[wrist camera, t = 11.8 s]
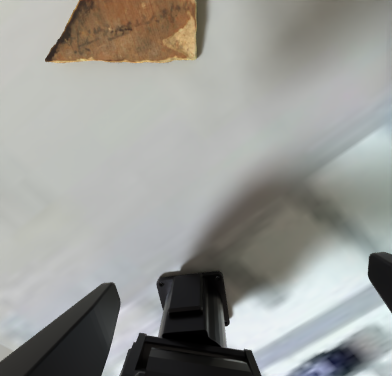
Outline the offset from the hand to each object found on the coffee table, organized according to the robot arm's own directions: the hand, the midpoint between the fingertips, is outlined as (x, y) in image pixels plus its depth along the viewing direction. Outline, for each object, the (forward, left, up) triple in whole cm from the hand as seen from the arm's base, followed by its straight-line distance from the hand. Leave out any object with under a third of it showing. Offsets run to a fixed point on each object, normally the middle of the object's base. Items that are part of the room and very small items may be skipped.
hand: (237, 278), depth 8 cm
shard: (+12, +4, -13) cm, 18 cm away
